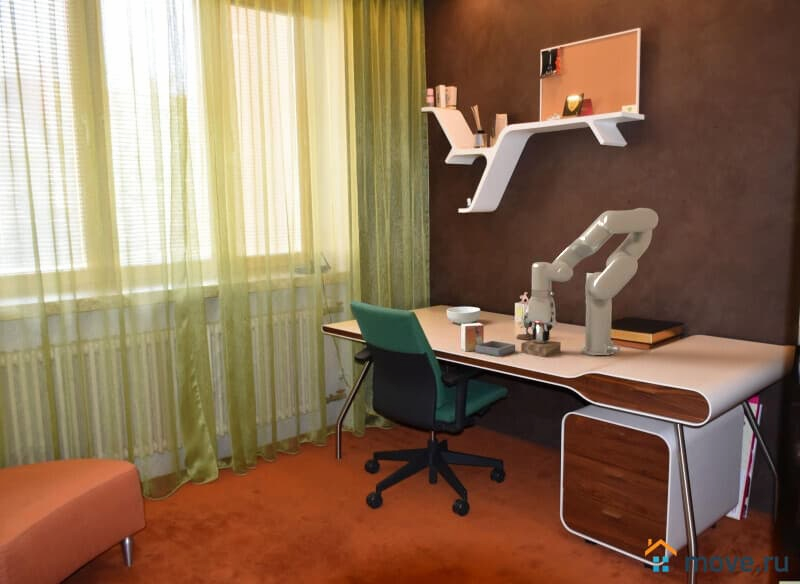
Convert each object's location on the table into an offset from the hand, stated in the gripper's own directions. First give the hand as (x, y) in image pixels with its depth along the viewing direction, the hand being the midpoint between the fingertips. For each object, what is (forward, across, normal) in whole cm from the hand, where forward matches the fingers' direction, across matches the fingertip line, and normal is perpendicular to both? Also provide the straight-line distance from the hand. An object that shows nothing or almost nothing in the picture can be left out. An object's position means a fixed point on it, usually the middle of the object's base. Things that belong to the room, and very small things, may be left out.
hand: (540, 339), depth 257 cm
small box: (+6, +24, +13) cm, 28 cm away
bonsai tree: (+6, +19, -20) cm, 28 cm away
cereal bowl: (+6, +63, -30) cm, 70 cm away
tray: (+5, +14, +11) cm, 19 cm away
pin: (+5, 0, 0) cm, 5 cm away
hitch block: (+5, 0, 0) cm, 5 cm away
